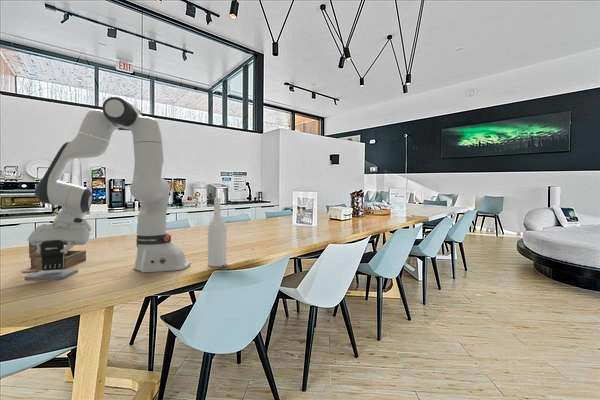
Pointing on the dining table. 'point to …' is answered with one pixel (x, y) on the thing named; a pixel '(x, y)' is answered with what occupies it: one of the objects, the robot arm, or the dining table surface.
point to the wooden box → (69, 258)
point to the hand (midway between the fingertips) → (51, 253)
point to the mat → (51, 274)
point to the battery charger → (52, 254)
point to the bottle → (217, 238)
